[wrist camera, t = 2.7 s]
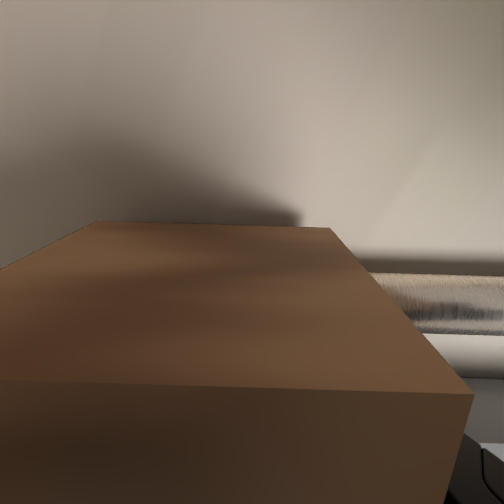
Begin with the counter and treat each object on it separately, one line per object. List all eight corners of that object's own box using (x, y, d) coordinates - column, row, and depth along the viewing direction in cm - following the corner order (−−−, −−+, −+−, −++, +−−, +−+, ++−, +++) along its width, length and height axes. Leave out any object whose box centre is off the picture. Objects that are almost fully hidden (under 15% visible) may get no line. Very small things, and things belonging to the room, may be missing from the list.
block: (329, 227, 9) (482, 402, 3) (310, 414, 10) (378, 748, 5) (97, 220, 9) (-226, 381, 3) (119, 408, 11) (-48, 734, 5)
